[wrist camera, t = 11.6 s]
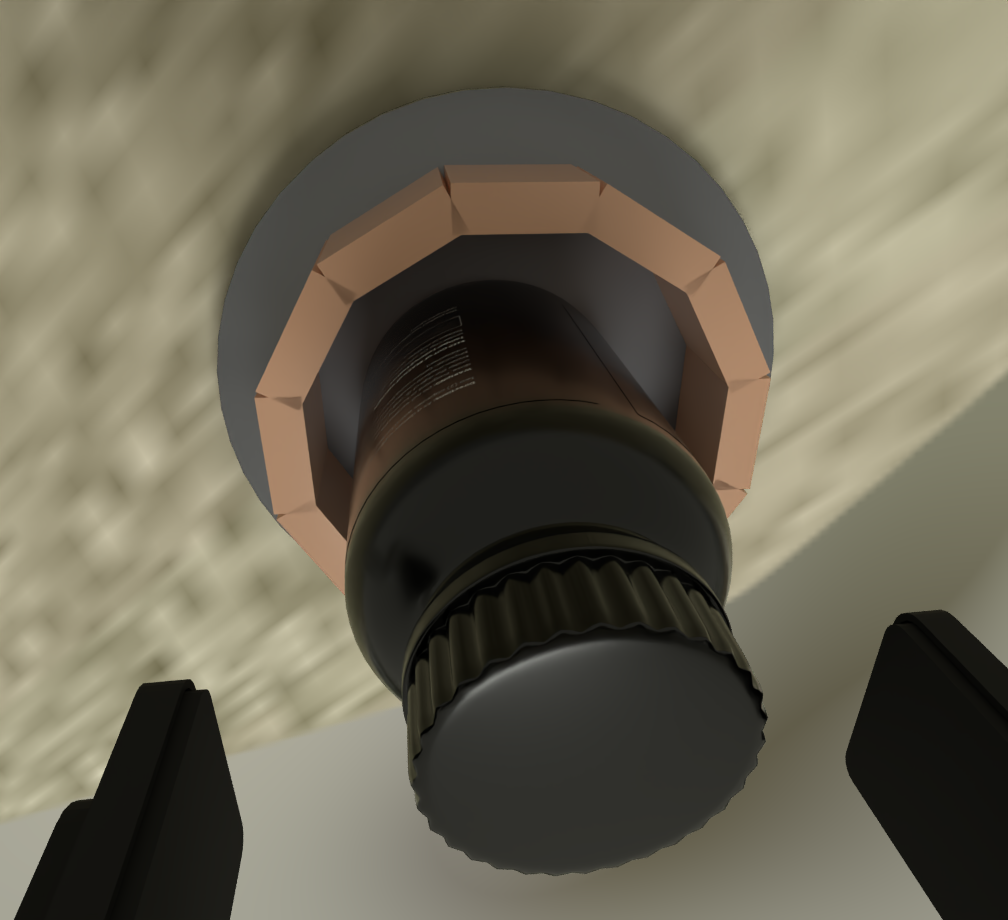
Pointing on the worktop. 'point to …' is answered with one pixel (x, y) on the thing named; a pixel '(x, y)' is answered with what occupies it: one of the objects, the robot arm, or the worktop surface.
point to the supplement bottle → (543, 588)
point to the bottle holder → (487, 256)
